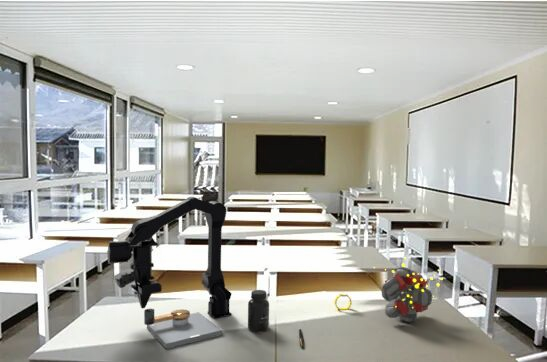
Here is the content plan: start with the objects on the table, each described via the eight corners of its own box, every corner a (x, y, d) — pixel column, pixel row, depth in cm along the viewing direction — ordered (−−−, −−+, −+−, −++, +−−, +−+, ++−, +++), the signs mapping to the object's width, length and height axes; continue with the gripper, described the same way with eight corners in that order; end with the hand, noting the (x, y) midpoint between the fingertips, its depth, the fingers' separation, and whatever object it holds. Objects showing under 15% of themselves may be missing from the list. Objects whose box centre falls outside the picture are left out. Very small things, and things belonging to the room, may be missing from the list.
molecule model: (413, 341, 127) (415, 267, 126) (357, 321, 143) (358, 255, 142) (453, 321, 144) (454, 255, 143) (398, 304, 159) (400, 245, 158)
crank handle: (185, 311, 141) (185, 299, 140) (192, 317, 136) (192, 305, 135) (141, 320, 133) (141, 308, 132) (147, 327, 128) (147, 314, 127)
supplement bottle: (266, 333, 133) (266, 296, 132) (245, 331, 134) (245, 294, 133) (270, 325, 139) (271, 289, 139) (250, 323, 141) (250, 288, 140)
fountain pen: (298, 330, 136) (298, 325, 136) (301, 330, 136) (301, 325, 136) (300, 350, 122) (300, 345, 122) (304, 350, 122) (304, 345, 122)
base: (198, 316, 147) (198, 306, 146) (222, 334, 132) (222, 323, 131) (146, 327, 137) (146, 317, 137) (166, 349, 122) (166, 337, 121)
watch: (349, 308, 156) (350, 292, 156) (351, 311, 153) (352, 295, 153) (333, 307, 156) (334, 291, 155) (335, 310, 153) (336, 294, 152)
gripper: (108, 257, 139) (109, 304, 139) (124, 270, 123) (125, 322, 124) (142, 253, 145) (143, 298, 146) (161, 265, 130) (162, 315, 130)
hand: (143, 308), depth 136 cm, fingers closed
